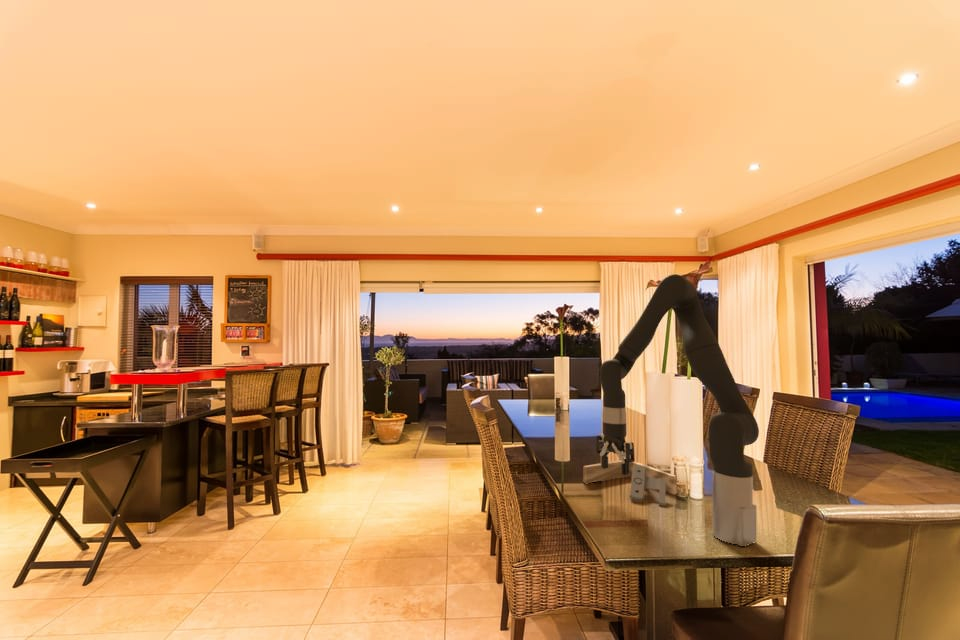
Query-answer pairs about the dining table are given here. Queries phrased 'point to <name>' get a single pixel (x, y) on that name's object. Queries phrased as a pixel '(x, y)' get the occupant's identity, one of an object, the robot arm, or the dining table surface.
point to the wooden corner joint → (615, 471)
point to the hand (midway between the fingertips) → (614, 471)
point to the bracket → (645, 485)
